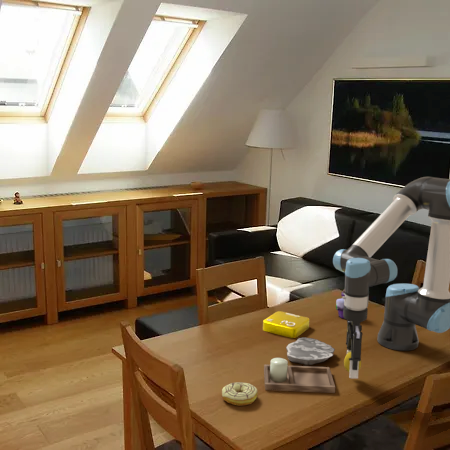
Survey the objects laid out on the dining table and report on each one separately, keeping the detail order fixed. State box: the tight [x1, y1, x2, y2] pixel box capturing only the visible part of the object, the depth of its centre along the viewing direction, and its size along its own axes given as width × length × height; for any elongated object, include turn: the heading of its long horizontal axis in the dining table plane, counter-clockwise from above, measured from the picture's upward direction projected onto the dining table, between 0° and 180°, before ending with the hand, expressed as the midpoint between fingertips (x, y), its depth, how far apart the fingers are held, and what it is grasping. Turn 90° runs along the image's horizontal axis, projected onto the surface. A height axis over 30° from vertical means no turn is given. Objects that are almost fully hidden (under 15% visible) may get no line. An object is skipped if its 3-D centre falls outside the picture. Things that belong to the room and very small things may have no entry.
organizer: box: [263, 364, 336, 394], centre depth 190 cm, size 22×14×2 cm, turn 88°
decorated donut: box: [221, 381, 258, 407], centre depth 177 cm, size 10×11×4 cm
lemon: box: [343, 352, 362, 373], centre depth 189 cm, size 6×6×8 cm
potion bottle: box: [335, 288, 346, 320], centre depth 247 cm, size 9×9×12 cm
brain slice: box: [285, 337, 336, 366], centre depth 209 cm, size 20×17×3 cm
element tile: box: [262, 310, 310, 339], centre depth 234 cm, size 15×15×5 cm
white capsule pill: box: [269, 357, 289, 383], centre depth 189 cm, size 6×6×6 cm
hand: (351, 373), depth 190 cm, fingers closed on lemon, 5 cm apart
